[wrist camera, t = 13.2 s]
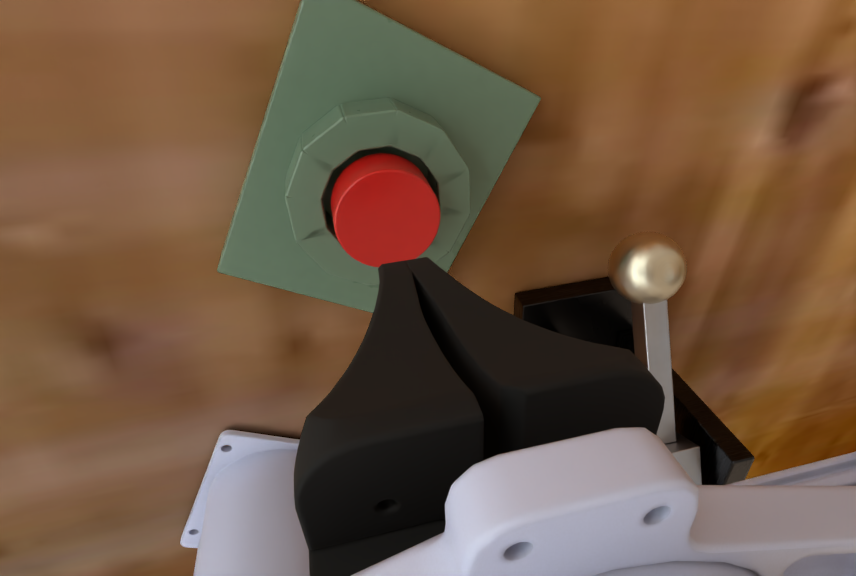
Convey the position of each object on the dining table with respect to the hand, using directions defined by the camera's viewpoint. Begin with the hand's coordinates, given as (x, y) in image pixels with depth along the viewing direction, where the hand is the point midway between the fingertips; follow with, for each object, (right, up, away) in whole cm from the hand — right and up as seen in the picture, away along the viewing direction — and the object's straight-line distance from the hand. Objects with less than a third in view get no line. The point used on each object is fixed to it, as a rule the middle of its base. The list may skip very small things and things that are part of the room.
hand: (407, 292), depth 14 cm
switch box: (-2, +5, +7) cm, 9 cm away
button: (-1, +3, +5) cm, 6 cm away
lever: (+10, -3, +10) cm, 14 cm away
